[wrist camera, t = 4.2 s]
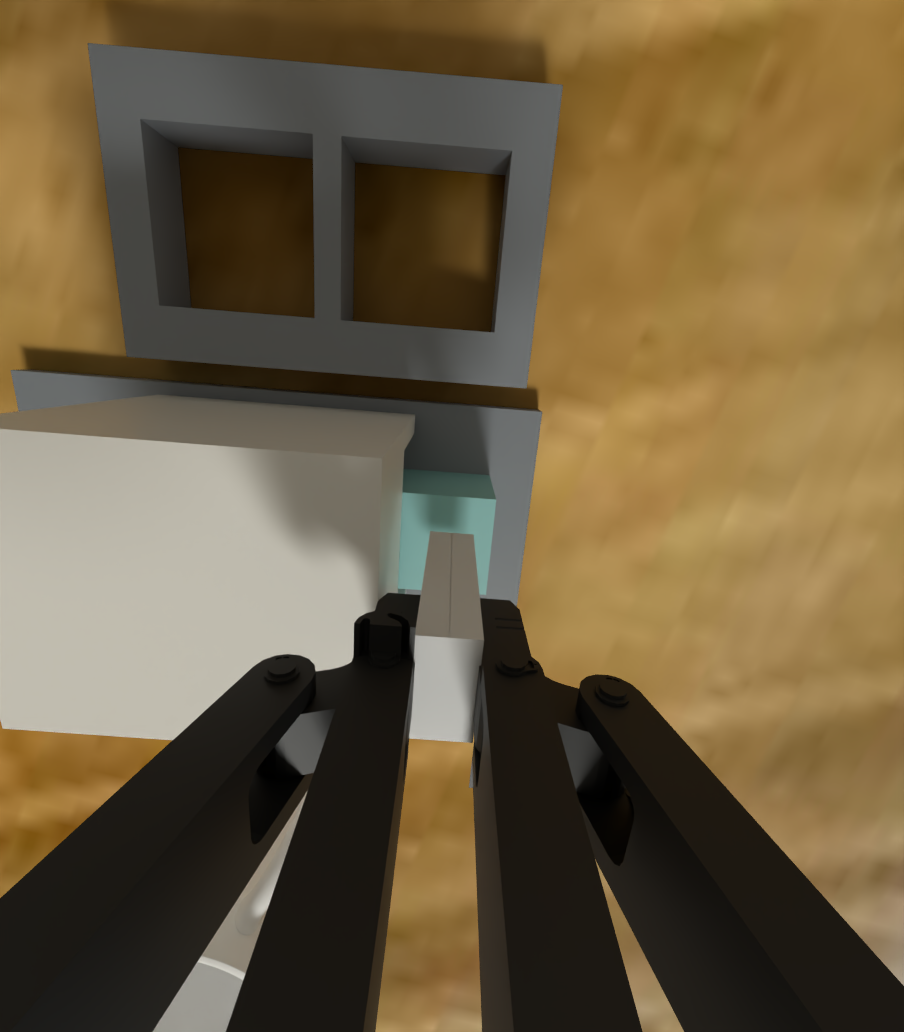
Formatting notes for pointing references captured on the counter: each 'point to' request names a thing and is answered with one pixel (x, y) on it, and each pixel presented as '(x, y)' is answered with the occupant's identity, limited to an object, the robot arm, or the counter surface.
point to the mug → (228, 951)
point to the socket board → (317, 201)
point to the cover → (184, 552)
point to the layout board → (426, 472)
